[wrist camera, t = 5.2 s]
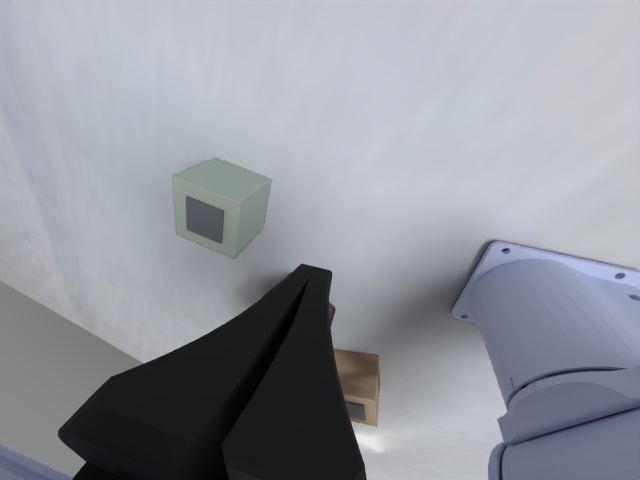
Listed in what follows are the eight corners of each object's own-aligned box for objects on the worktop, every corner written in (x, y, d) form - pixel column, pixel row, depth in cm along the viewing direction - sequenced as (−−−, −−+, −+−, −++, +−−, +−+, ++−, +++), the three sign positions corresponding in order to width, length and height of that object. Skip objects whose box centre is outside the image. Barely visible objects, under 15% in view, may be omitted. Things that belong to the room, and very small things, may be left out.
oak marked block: (378, 354, 28) (374, 402, 24) (379, 380, 31) (376, 428, 26) (335, 348, 30) (324, 393, 25) (339, 374, 32) (330, 418, 28)
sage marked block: (272, 178, 20) (239, 203, 16) (263, 228, 23) (233, 260, 19) (217, 157, 21) (169, 176, 16) (214, 208, 24) (174, 235, 19)
